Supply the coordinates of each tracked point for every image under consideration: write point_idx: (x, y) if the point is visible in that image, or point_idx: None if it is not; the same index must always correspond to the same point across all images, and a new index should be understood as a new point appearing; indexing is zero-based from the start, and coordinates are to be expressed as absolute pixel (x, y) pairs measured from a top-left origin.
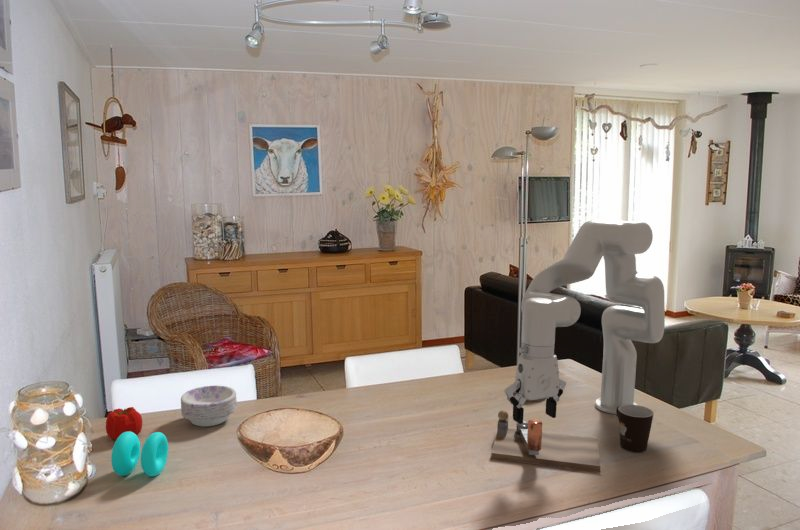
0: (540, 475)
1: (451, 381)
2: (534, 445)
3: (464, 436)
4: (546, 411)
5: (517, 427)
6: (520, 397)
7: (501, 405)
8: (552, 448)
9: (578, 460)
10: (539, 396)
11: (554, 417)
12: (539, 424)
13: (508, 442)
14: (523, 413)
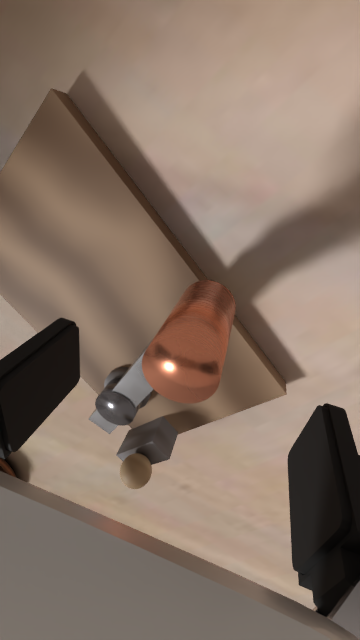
0: (262, 218)
1: None
2: (225, 300)
3: (234, 473)
4: (69, 385)
5: (135, 415)
6: (10, 467)
7: (61, 476)
8: (110, 293)
9: (93, 181)
10: (163, 611)
11: (69, 320)
12: (183, 342)
13: None
14: (335, 470)
